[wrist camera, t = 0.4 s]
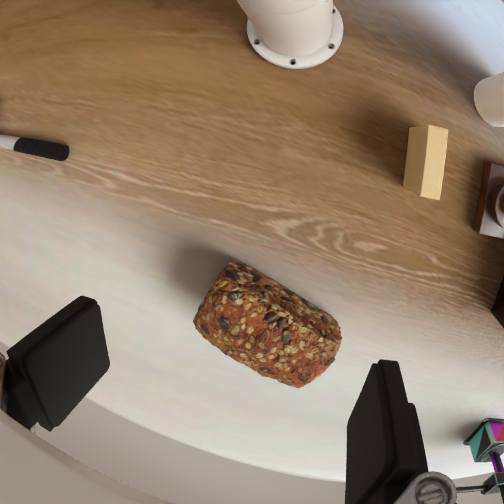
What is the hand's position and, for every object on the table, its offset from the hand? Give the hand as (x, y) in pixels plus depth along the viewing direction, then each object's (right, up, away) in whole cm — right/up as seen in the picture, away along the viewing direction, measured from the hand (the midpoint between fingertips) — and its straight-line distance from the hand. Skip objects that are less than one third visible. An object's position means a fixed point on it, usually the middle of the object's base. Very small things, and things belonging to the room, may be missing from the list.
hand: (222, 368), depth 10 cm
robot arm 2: (+50, -36, +39) cm, 73 cm away
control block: (+37, +11, +25) cm, 46 cm away
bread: (+4, -5, +38) cm, 39 cm away
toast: (+22, +16, +27) cm, 38 cm away
